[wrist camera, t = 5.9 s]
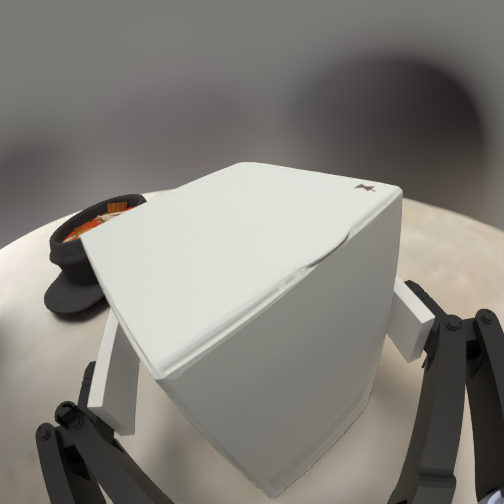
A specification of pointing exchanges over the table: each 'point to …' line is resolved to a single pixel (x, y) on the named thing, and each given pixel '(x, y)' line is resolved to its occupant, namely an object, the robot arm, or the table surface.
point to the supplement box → (258, 306)
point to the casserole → (81, 256)
